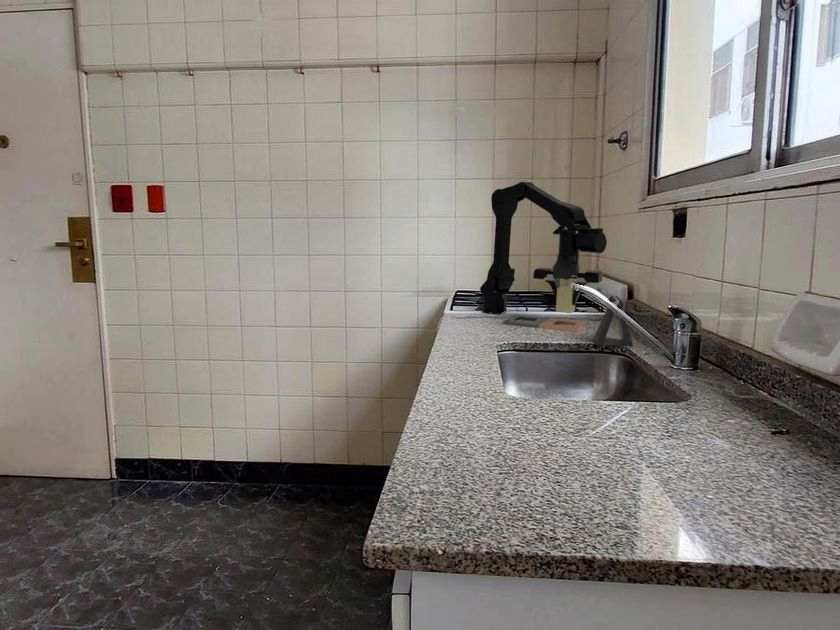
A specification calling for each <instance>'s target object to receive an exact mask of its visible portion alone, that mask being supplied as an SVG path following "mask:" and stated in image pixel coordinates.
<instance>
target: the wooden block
mask: <svg viewBox="0 0 840 630" xmlns="http://www.w3.org/2000/svg"><path fill="white" fill-rule="evenodd" d="M571 287H572V286H566V285H565V286H564V285H560V287H558V288H557V301H556V300H555V303H556V304H555V312H556V313H565V314H572V313H574V312H575V311H576V304H575V305H573V297H574V291H575V290H573V289H572V288H571Z"/></svg>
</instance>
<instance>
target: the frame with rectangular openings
mask: <svg viewBox="0 0 840 630" xmlns="http://www.w3.org/2000/svg"><path fill="white" fill-rule="evenodd" d="M523 320H525V321H523ZM531 321H532V322H531ZM502 324H503V325H510V326H517V327H519V326H520V327H527V328H536V329H537V328H538V329H547V330H555V331H563V332H572V333H574V332H575V333H578V332H579V331H581V330H582V329H583V328H584V327H585V326H586V325H588V321H587V320H585V321H584V320H577V319H566V318H557V317H545V316H535V315H528V314H527V315H525V314H514V315H512V316H511V317H509V318H507V319H504V320H503V322H502ZM562 324H564V325H562ZM571 325H572V326H571Z"/></svg>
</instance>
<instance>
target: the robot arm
mask: <svg viewBox="0 0 840 630" xmlns="http://www.w3.org/2000/svg"><path fill="white" fill-rule="evenodd" d="M525 199H527V200H528V201H530V202H531V203H533V204H535V205H536V206H538V207H540V208H541V209H543V210H544V211H546V212H547V213H549V214H550V216H551V218H552V220H554V221H555V223H557V224H558V225H559V226H557V228H556V229H555V230H554V231H553V232H552V234H553V235H559V237H558V238H559V239H558V254H557V258H556V260H555V263H554V264H553V266H552V267H537V268H535V270H534V271H533V272H532V273H533V275H532V277H533V279H535V280H544V279H545V280H544V281H545V283H548V285H549V286H550V287H551V290H552V291H553V292H552V293H553V295H554V298H555V299H554V300H555V302H556V301H557V288H558V287H560V286H561V280H563V281H564V280H568V281H569V280H570V279H574V280H575V279H576V280H577V281H576V282H574V285H575V284H579V285H583V286H584V287H585V286H586V285H588V284H590V283H591V284H600V283H601V282H603V272H602V271H601V270H590V269H589V270H587V271H585V272H580V263H579V262H580V261H579V260H580V259H579V258H580V253H589V254H590V253H592V254H602V253H603V252H604V251H605V250H606V248H607V244H608V242H607V241H608V240H607V237H606V234H605V233H604V228H602V227H598V228H592V226H591V225H590V222H589V221H588V219H587V218H586V214H585V210H584V209H583V208H582V207H581V206H578V205H576V204H572V203H570V202H565V201H561V200H560V199H558V198H556V197H554V196H553V195H551V194H550V193H548V192H546V191H545V190H544V189H541V188H539V187H538V186H537V185H535V184H534V183H533V182H531V181H520V182H519V183H516V184H513V185H511V186H510V185H509V186H507V187H505V188H496V189H495V190H494V191H493V192H492V194H491V198H490V201H491V210H492V212H493V215H494V217H495V228H494V244H493V245H494V246H493V247H494V248H493V260H492V264H491V265H490V267H489V269H488V271H487V278H486V280H485V281H484V283H483V284H482V285H481V286H480V287H479V291H480V294H481V295H484V297H483V310H482V311H483V312H482V313H485V312H492V313H491V314H495V313H501V314H503V313H505V312H507V311H508V310H507V301H508V300H507V298H506V294H508V293H510V290H511V287H512V286H513V283H514V282H515V281H516V280H515V273H516V269H515V268H512V267H511V265H510V249H511V234H512V219H513V216H514V214H515V213H516V212H517V210H518V209H517V208H518V205H519V203H520V202H522V201H524V200H525ZM580 295H581V292H579V291H576V290H575V291H574V297H573V305H575V306H576V304H577V301H578V298H579V297H580ZM506 310H507V311H506ZM504 311H505V312H504ZM502 312H503V313H502Z"/></svg>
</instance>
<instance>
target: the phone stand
mask: <svg viewBox="0 0 840 630" xmlns="http://www.w3.org/2000/svg"><path fill="white" fill-rule="evenodd" d="M608 300H609V301H610V302H612V303H613V304H614V302H616V301H617V300H618V303H617V305H615V306H617V307H618V308H619V309H621V310H622V311H623V312H624V302H623V300H622V299H621V298H620V297H619V296H618V295H616V296H615V297H614V296H613V295H610V297H609V298H608V299H607V301H608ZM615 314H616V313H614V312H613V311H612V310H611V309H609V308H608V307H607V309H606V310H605V313H604V315H603V317H602V319H601V321H600V324H599V326H598V328H597V330H596V332H595V334H594V337H593V340H594V343H595V345H596V346H602V347H603V346H604V347H607V346H608V347H623V346H629V347H628V348H632V347H633V346H634V344H633V341H632V338H631V334H630V330H629V327H628V325H627V322H626V320H625V321H624V320H623V319H622V318H620V317H619V316H618V315H617V314H616V316H617V322H618V325H619V331H620V336H621V339H617V338H615V339H614V338H613V339H612V338H606V337H607V334H608V333H609V330H610V329H609V328H610V326H611V323H612V320H613V317H614V315H615Z"/></svg>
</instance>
